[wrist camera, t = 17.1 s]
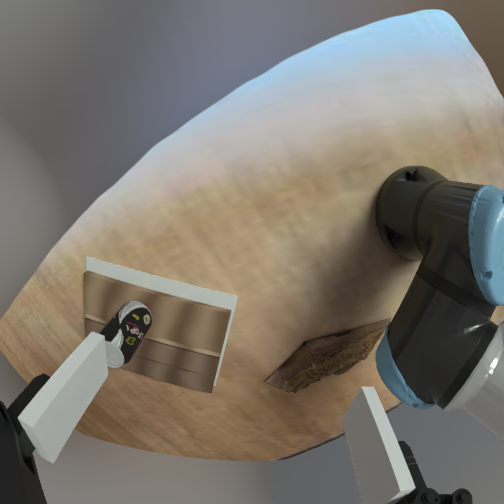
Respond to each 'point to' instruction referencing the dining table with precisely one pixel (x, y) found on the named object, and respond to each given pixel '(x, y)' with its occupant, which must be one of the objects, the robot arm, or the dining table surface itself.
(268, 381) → the wooden fragment
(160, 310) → the plank
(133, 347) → the beverage can
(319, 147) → the dining table surface
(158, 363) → the laid board
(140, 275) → the underlay mat
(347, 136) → the dining table surface
